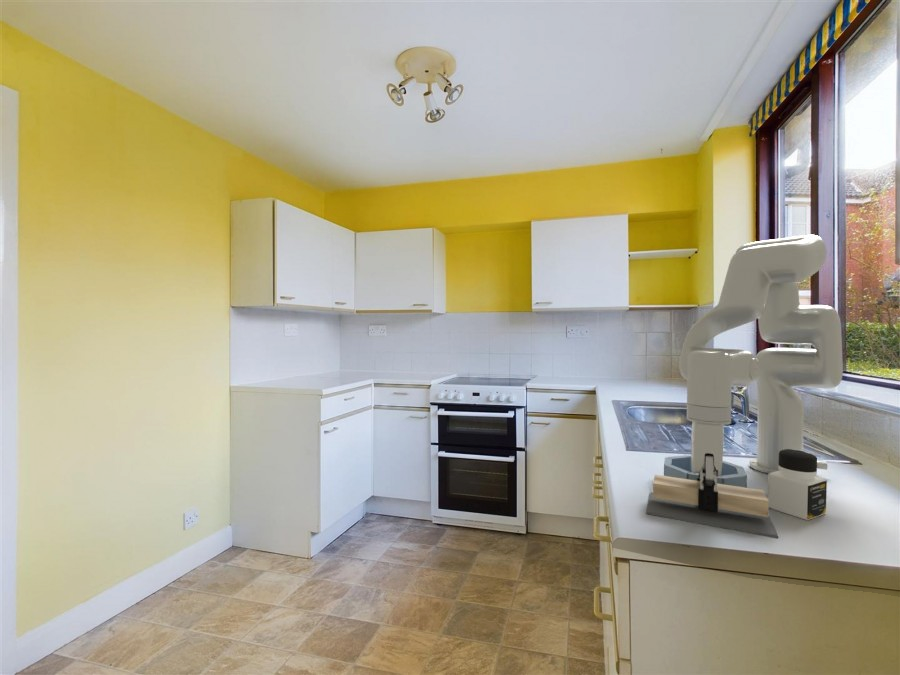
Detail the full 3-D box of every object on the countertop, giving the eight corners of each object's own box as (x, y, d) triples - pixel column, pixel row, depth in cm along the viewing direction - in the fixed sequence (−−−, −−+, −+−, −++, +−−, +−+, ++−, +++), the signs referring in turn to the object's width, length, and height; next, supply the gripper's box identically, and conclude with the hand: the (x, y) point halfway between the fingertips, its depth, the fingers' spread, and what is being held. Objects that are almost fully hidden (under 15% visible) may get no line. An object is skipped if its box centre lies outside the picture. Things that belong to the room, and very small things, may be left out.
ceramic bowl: (740, 482, 105) (740, 461, 104) (749, 506, 90) (750, 482, 90) (665, 472, 112) (665, 452, 112) (662, 492, 98) (663, 470, 98)
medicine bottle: (808, 521, 84) (809, 458, 83) (766, 507, 90) (768, 449, 90) (826, 514, 87) (828, 453, 87) (785, 501, 93) (786, 445, 93)
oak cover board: (654, 488, 94) (654, 474, 94) (762, 505, 85) (763, 490, 85) (652, 498, 89) (653, 483, 89) (768, 517, 80) (768, 500, 80)
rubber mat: (766, 512, 87) (766, 510, 87) (778, 537, 77) (778, 535, 77) (650, 493, 97) (650, 491, 97) (646, 513, 86) (646, 511, 86)
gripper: (686, 405, 96) (684, 487, 96) (687, 419, 81) (685, 517, 81) (726, 408, 92) (725, 493, 93) (736, 424, 77) (734, 526, 78)
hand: (706, 503), depth 87 cm, fingers closed on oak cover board, 6 cm apart
